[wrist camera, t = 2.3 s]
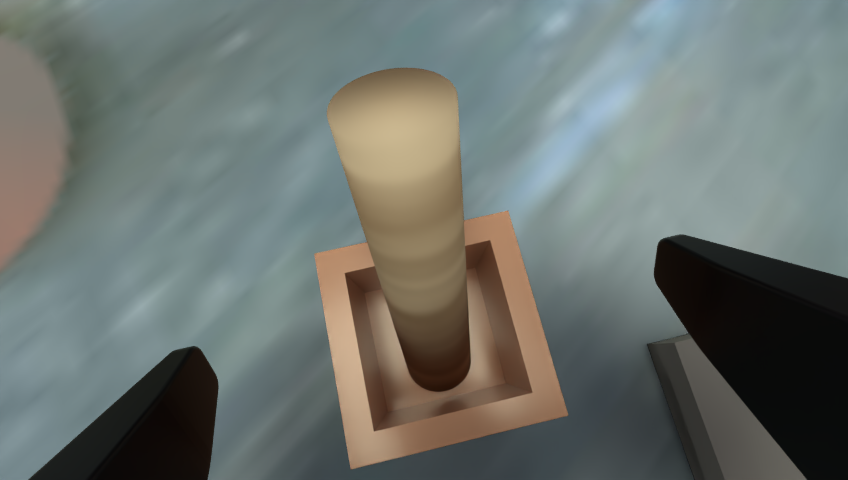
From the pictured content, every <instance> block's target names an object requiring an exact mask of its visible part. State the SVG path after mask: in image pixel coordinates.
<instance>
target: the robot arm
mask: <svg viewBox="0 0 848 480" xmlns="http://www.w3.org/2000/svg"><path fill="white" fill-rule="evenodd" d="M654 278H655V281H656V284H657V286H658V287H659V289H660V290H661V292H662V293H663V295H664V296H665V298H666V299H667V301H668V302H669V304H670V305H671V307H672V308H673V310H674V311H675V313H676V315H677V316H678V318H679V319H680V321H681V322H682V324H683V325H684V327H685V328H686V330H687V331H688V333H689V334H690V336H691V337H692V339H693V340H694V341H695V343H696V344H697V346H698V347H699V348H700V350H701V351H702V352H703V354H704V355H705V356H706V357H707V359H708V360H709V361H710V362H711V364H712V365H713V366H714V367H715V368H716V370H717V371H718V372H719V373H720V375H721V376H722V377H723V378H724V379H725V381H726V382H727V383H728V384H729V386H730V387H731V388H732V389H733V390H734V392H735V393H736V394H737V395H738V396H739V398H740V399H741V400H742V401H743V403H744V404H745V405H746V406H747V407H748V409H749V410H750V411H751V412H752V414H753V415H754V416H755V417H756V418H757V420H758V421H759V422H760V423H761V425H762V426H763V427H764V428H765V429H766V431H767V432H768V433H769V434H770V435H771V437H772V438H773V439H774V440H775V442H776V443H777V444H778V445H779V446H780V448H781V449H782V450H783V451H784V453H785V454H786V455H787V456H788V457H789V459H790V460H791V461H792V462H793V464H794V465H795V466H796V467H797V468H798V470H799V471H800V472H801V473H802V475H803V476H804V477H805V478H806V479H807V480H848V278H844V277H841V276H837V275H833V274H829V273H826V272H822V271H818V270H814V269H811V268H807V267H803V266H799V265H796V264H792V263H788V262H784V261H781V260H777V259H773V258H769V257H766V256H762V255H758V254H754V253H751V252H747V251H743V250H739V249H736V248H732V247H728V246H725V245H721V244H717V243H713V242H710V241H706V240H702V239H698V238H695V237H691V236H687V235H675V236H671V237H667V238H663V239H661V240H660V241H659V243H658V246H657V253H656V260H655V267H654ZM217 397H218V379H217V376H216V374H215V372H214V371H213V369H212V367H211V366H210V364H209V362H208V361H207V359H206V357H205V356H204V354H203V352H202V351H201V349H199V348H198V347H196V346H191V347H187V348H182V349H178V350H175V351H172V352H171V353H170V354H169V355H168V356H166V357H165V358H164V359H163V360H162V361H161V362H160V363H159V364H157V365H156V366H155V367H154V368H153V369H152V370H151V371H150V372H148V373H147V374H146V375H145V376H144V377H143V378H142V379H141V380H140V381H138V382H137V383H136V384H135V385H134V386H133V387H132V388H131V389H129V390H128V391H127V392H126V393H125V394H124V395H123V396H122V397H120V398H119V399H118V400H117V401H116V402H115V403H114V404H113V405H112V406H110V407H109V408H108V409H107V410H106V411H105V412H104V413H103V414H101V415H100V416H99V417H98V418H97V419H96V420H95V421H94V422H92V423H91V424H90V425H89V426H88V427H87V428H86V429H85V430H83V431H82V432H81V433H80V434H79V435H78V436H77V437H76V438H75V439H73V440H72V441H71V442H70V443H69V444H68V445H67V446H66V447H64V448H63V449H62V450H61V451H60V452H59V453H58V454H57V455H55V456H54V457H53V458H52V459H51V460H50V461H49V462H48V463H47V464H45V465H44V466H43V467H42V468H41V469H40V470H39V471H38V472H36V473H35V474H34V475H33V476H32V477H31V478H30V479H29V480H207V479H208V474H209V469H210V462H211V455H212V446H213V436H214V426H215V417H216V407H217Z"/></svg>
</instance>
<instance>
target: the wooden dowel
mask: <svg viewBox="0 0 848 480" xmlns="http://www.w3.org/2000/svg"><path fill="white" fill-rule="evenodd" d="M327 118H328V122H329V125H330V128H331V131H332V134H333V137H334V140H335V143H336V147H337V150H338V153H339V156H340V159H341V162H342V165H343V168H344V171H345V175H346V178H347V181H348V184H349V187H350V190H351V193H352V196H353V200H354V203H355V206H356V209H357V212H358V215H359V218H360V221H361V225H362V228H363V231H364V234H365V237H366V240H367V243H368V246H369V250H370V253H371V256H372V259H373V262H374V265H375V268H376V271H377V274H378V278H379V281H380V284H381V287H382V290H383V293H384V296H385V299H386V303H387V306H388V309H389V312H390V315H391V318H392V321H393V324H394V328H395V331H396V334H397V337H398V340H399V343H400V346H401V349H402V352H403V356H404V359H405V362H406V365H407V368H408V371H409V374H410V376H411V377H412V379H413V380H414V381H415V383H417V384H418V385H419V386H420V387H422V388H424V389H426V390H429V391H434V392H442V391H447V390H450V389H453V388H455V387H456V386H458V385H459V384H460V383H461V382H462V381H463V380H464V379H465V378H466V376H467V374H468V372H469V369H470V365H471V353H470V333H469V313H468V293H467V274H466V254H465V234H464V214H463V194H462V174H461V155H460V135H459V115H458V97H457V91H456V89H455V87H454V85H453V84H452V83H451V82H450V81H449V80H448V79H446V78H445V77H443V76H442V75H440V74H437V73H435V72H432V71H428V70H424V69H417V68H394V69H387V70H381V71H377V72H373V73H370V74H367V75H365V76H362V77H360V78H358V79H355V80H354V81H352V82H350V83H348V84H347V85H345V86H344V87H343V88H341V89H340V90H339V91H338V92H337V93H336V94H335V95H334V96H333V98H332V99H331V101H330V103H329V105H328V109H327Z"/></svg>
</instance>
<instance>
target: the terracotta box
mask: <svg viewBox="0 0 848 480" xmlns="http://www.w3.org/2000/svg"><path fill="white" fill-rule="evenodd" d="M464 234H465V254H466V274H467V293H468V313H469V333H470V353H471V365H470V369H469V372H468V374H467V376H466V378H465V379H464V380H463V381H462V382H461V383H460V384H459V385H458V386H456V387H455V388H453V389H450V390H447V391H442V392H434V391H429V390H426V389H424V388H422V387H420V386H419V385H418V384H417V383H415V381H414V380H413V379H412V377H411V376H410V374H409V371H408V368H407V365H406V362H405V359H404V356H403V352H402V349H401V346H400V343H399V340H398V337H397V334H396V331H395V328H394V324H393V321H392V318H391V315H390V312H389V309H388V306H387V303H386V299H385V296H384V293H383V290H382V287H381V284H380V281H379V278H378V274H377V271H376V268H375V265H374V262H373V259H372V256H371V253H370V250H369V246H368V243H367V242H365V243H361V244H356V245H352V246H347V247H343V248H338V249H334V250H329V251H325V252H320V253H316V254H314V255H315V260H316V266H317V272H318V278H319V284H320V290H321V296H322V302H323V308H324V314H325V320H326V326H327V332H328V338H329V343H330V349H331V355H332V361H333V367H334V373H335V379H336V385H337V391H338V397H339V403H340V409H341V415H342V421H343V426H344V432H345V438H346V444H347V450H348V456H349V462H350V468H351V469H355V468H359V467H363V466H367V465H371V464H375V463H379V462H383V461H387V460H391V459H395V458H399V457H403V456H407V455H411V454H415V453H419V452H423V451H428V450H432V449H436V448H440V447H444V446H448V445H452V444H456V443H460V442H464V441H468V440H472V439H476V438H480V437H484V436H488V435H492V434H496V433H500V432H504V431H508V430H512V429H516V428H520V427H524V426H528V425H532V424H536V423H540V422H544V421H548V420H552V419H556V418H560V417H564V416H568V412H567V409H566V405H565V402H564V399H563V395H562V392H561V389H560V385H559V382H558V378H557V375H556V372H555V368H554V365H553V361H552V358H551V355H550V351H549V348H548V344H547V341H546V338H545V334H544V331H543V327H542V324H541V321H540V317H539V314H538V310H537V307H536V304H535V300H534V297H533V293H532V290H531V287H530V283H529V280H528V276H527V273H526V270H525V266H524V263H523V260H522V256H521V253H520V249H519V246H518V243H517V239H516V236H515V232H514V229H513V226H512V222H511V219H510V215H509V212H508V211H505V212H500V213H496V214H491V215H487V216H482V217H478V218H473V219H469V220H464Z"/></svg>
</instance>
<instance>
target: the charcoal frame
mask: <svg viewBox="0 0 848 480" xmlns="http://www.w3.org/2000/svg"><path fill="white" fill-rule="evenodd" d="M647 345H648V348H649V351H650V354H651V357H652V359H653V362H654V365H655V368H656V371H657V374H658V376H659V379H660V382H661V385H662V388H663V391H664V393H665V396H666V399H667V402H668V405H669V408H670V410H671V413H672V416H673V419H674V422H675V425H676V427H677V430H678V433H679V436H680V439H681V442H682V445H683V447H684V450H685V453H686V456H687V459H688V462H689V464H690V467H691V470H692V473H693V476H694V479H695V480H807V479H806V478H805V477H804V476H803V475H802V473H801V472H800V471H799V470H798V468H797V467H796V466H795V465H794V464H793V462H792V461H791V460H790V459H789V457H788V456H787V455H786V454H785V453H784V451H783V450H782V449H781V448H780V446H779V445H778V444H777V443H776V442H775V440H774V439H773V438H772V437H771V435H770V434H769V433H768V432H767V431H766V429H765V428H764V427H763V426H762V425H761V423H760V422H759V421H758V420H757V418H756V417H755V416H754V415H753V414H752V412H751V411H750V410H749V409H748V407H747V406H746V405H745V404H744V403H743V401H742V400H741V399H740V398H739V396H738V395H737V394H736V393H735V392H734V390H733V389H732V388H731V387H730V386H729V384H728V383H727V382H726V381H725V379H724V378H723V377H722V376H721V375H720V373H719V372H718V371H717V370H716V368H715V367H714V366H713V365H712V364H711V362H710V361H709V360H708V359H707V357H706V356H705V355H704V354H703V352H702V351H701V350H700V348H699V347H698V346H697V344H696V343H695V341H694V340H693V339H692V337H691V336H690V334H687V335H683V336H679V337H675V338H671V339H667V340H663V341H658V342H654V343H650V344H647Z"/></svg>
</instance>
